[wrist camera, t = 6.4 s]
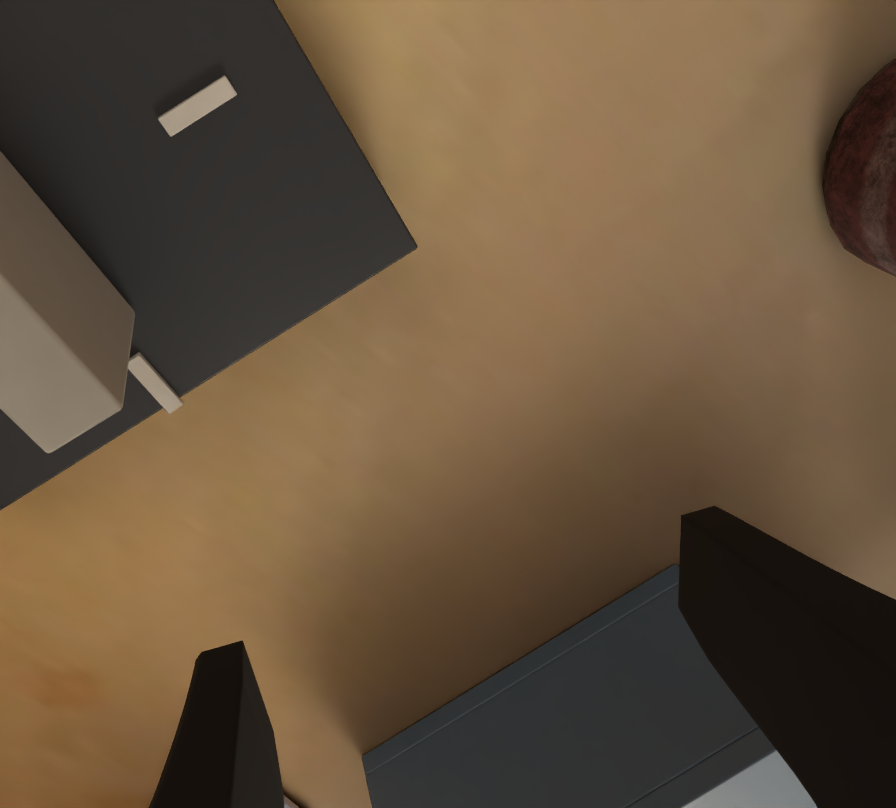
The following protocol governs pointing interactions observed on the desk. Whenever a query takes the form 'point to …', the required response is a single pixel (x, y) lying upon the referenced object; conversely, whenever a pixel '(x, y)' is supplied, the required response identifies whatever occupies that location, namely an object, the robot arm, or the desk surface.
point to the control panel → (185, 186)
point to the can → (865, 173)
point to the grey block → (55, 324)
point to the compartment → (593, 727)
